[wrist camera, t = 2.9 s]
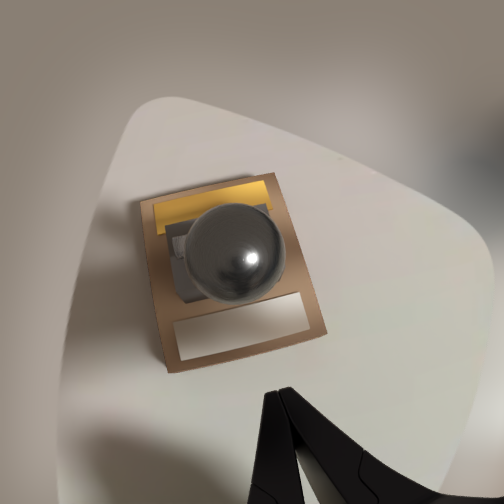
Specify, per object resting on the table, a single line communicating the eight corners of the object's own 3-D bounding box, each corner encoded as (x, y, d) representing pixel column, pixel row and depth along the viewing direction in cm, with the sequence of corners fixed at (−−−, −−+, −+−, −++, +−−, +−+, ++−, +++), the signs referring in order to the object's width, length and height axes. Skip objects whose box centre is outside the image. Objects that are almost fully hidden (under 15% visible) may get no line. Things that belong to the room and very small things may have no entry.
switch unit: (319, 337, 21) (342, 326, 16) (174, 372, 19) (155, 373, 15) (271, 186, 25) (278, 146, 20) (146, 214, 23) (127, 178, 19)
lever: (271, 253, 18) (341, 292, 8) (182, 274, 17) (159, 337, 8) (260, 200, 17) (322, 183, 8) (169, 220, 17) (128, 224, 7)
